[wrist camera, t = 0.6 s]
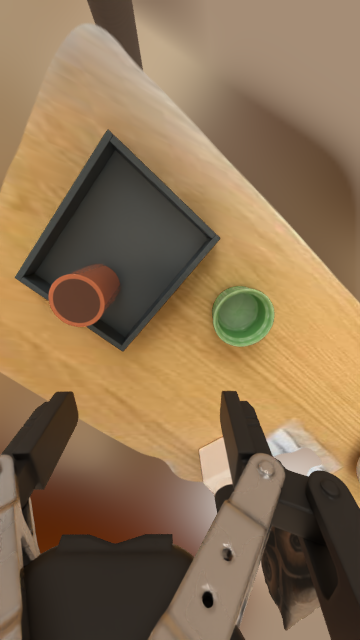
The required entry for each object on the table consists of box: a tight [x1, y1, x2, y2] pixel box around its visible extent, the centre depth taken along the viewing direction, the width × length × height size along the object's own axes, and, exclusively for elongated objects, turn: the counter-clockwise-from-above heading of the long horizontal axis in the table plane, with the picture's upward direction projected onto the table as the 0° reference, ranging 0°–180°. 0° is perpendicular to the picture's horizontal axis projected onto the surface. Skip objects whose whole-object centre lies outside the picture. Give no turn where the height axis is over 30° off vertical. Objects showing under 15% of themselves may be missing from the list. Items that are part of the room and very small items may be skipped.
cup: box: [49, 264, 120, 327], centre depth 30 cm, size 6×6×9 cm
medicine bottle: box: [199, 437, 234, 513], centre depth 43 cm, size 7×7×12 cm
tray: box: [15, 130, 220, 351], centre depth 32 cm, size 18×22×4 cm
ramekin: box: [212, 286, 274, 347], centre depth 36 cm, size 9×9×4 cm
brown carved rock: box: [261, 458, 320, 630], centre depth 42 cm, size 13×13×20 cm
